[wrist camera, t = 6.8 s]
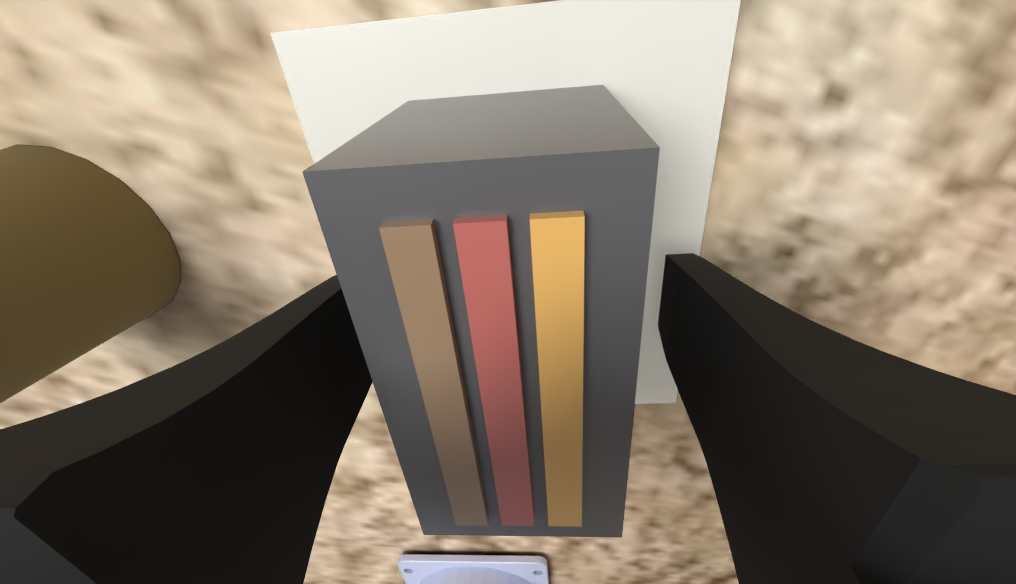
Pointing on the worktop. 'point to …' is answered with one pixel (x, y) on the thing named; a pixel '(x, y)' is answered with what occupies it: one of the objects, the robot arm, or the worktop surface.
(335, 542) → the worktop surface
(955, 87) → the worktop surface
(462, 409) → the block
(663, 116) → the header board
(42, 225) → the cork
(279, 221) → the worktop surface
